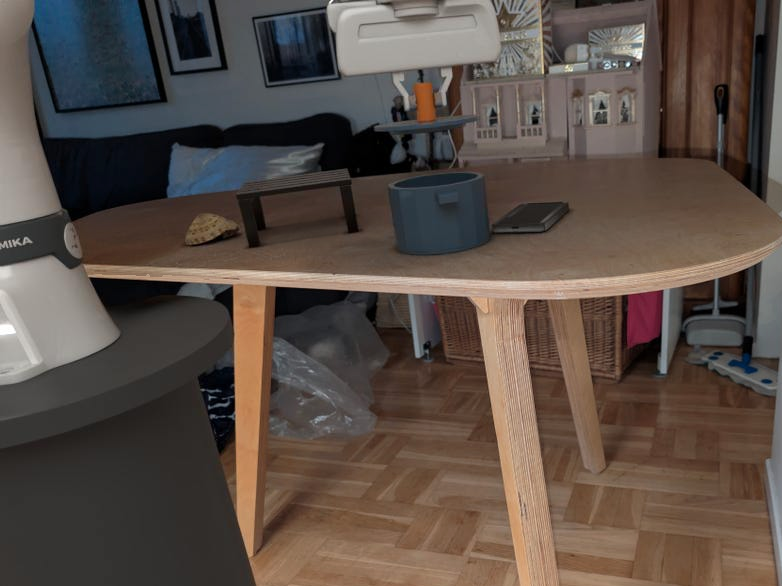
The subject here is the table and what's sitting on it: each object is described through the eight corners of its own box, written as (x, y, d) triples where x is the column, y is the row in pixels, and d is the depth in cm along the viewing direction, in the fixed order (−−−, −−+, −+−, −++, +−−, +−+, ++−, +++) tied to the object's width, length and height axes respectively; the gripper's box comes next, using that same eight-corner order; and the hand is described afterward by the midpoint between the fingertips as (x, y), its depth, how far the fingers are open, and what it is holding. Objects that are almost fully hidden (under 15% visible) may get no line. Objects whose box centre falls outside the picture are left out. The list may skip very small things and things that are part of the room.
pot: (405, 264, 86) (395, 196, 83) (391, 236, 103) (382, 178, 99) (504, 249, 88) (498, 181, 85) (475, 224, 105) (469, 166, 101)
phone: (570, 201, 107) (543, 223, 94) (570, 208, 107) (544, 231, 94) (520, 203, 109) (488, 224, 97) (521, 210, 110) (489, 233, 97)
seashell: (247, 222, 114) (197, 211, 109) (242, 256, 115) (191, 247, 110) (232, 217, 120) (184, 207, 115) (227, 249, 121) (178, 240, 116)
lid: (379, 139, 82) (372, 88, 80) (371, 133, 95) (364, 89, 93) (491, 126, 84) (487, 76, 82) (469, 122, 97) (465, 78, 95)
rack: (247, 248, 106) (235, 194, 103) (256, 229, 120) (245, 181, 117) (360, 231, 108) (351, 179, 105) (355, 214, 123) (347, 168, 120)
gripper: (323, -11, 79) (344, 118, 84) (499, -25, 82) (508, 100, 87) (323, -3, 85) (342, 117, 90) (487, -17, 88) (497, 100, 93)
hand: (425, 109), depth 89 cm, fingers closed on lid, 2 cm apart
